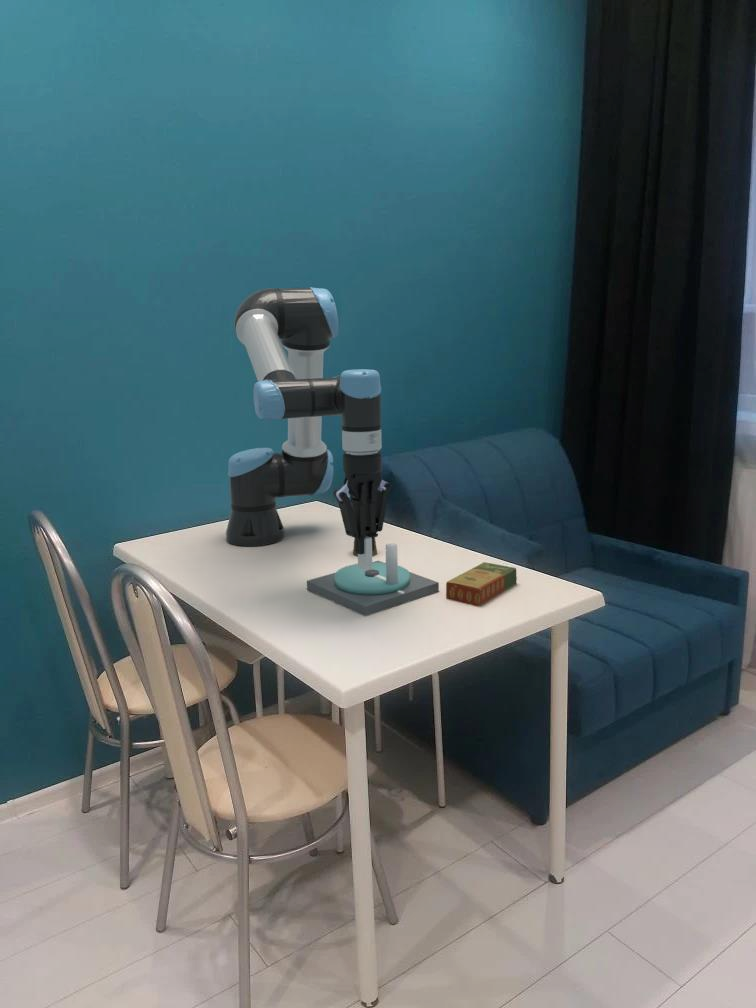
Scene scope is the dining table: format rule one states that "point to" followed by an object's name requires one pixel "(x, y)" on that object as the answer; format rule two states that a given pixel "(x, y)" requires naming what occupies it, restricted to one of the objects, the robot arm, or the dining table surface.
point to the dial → (374, 576)
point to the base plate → (372, 602)
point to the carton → (481, 584)
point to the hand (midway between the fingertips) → (365, 568)
